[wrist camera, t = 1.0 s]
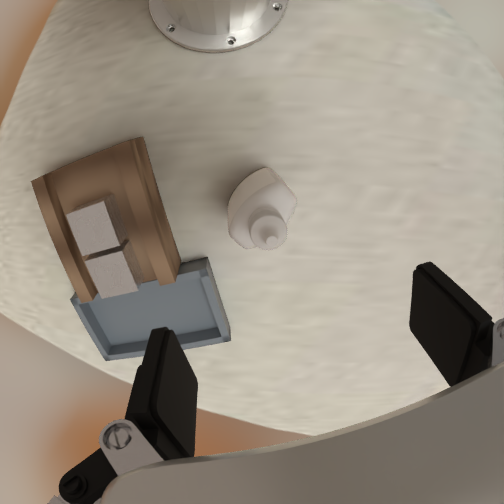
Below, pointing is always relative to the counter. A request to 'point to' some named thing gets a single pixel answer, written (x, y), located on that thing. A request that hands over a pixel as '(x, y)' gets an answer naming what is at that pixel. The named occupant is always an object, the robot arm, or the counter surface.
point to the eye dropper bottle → (261, 210)
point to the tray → (158, 313)
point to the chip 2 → (115, 270)
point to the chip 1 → (97, 225)
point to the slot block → (129, 203)
